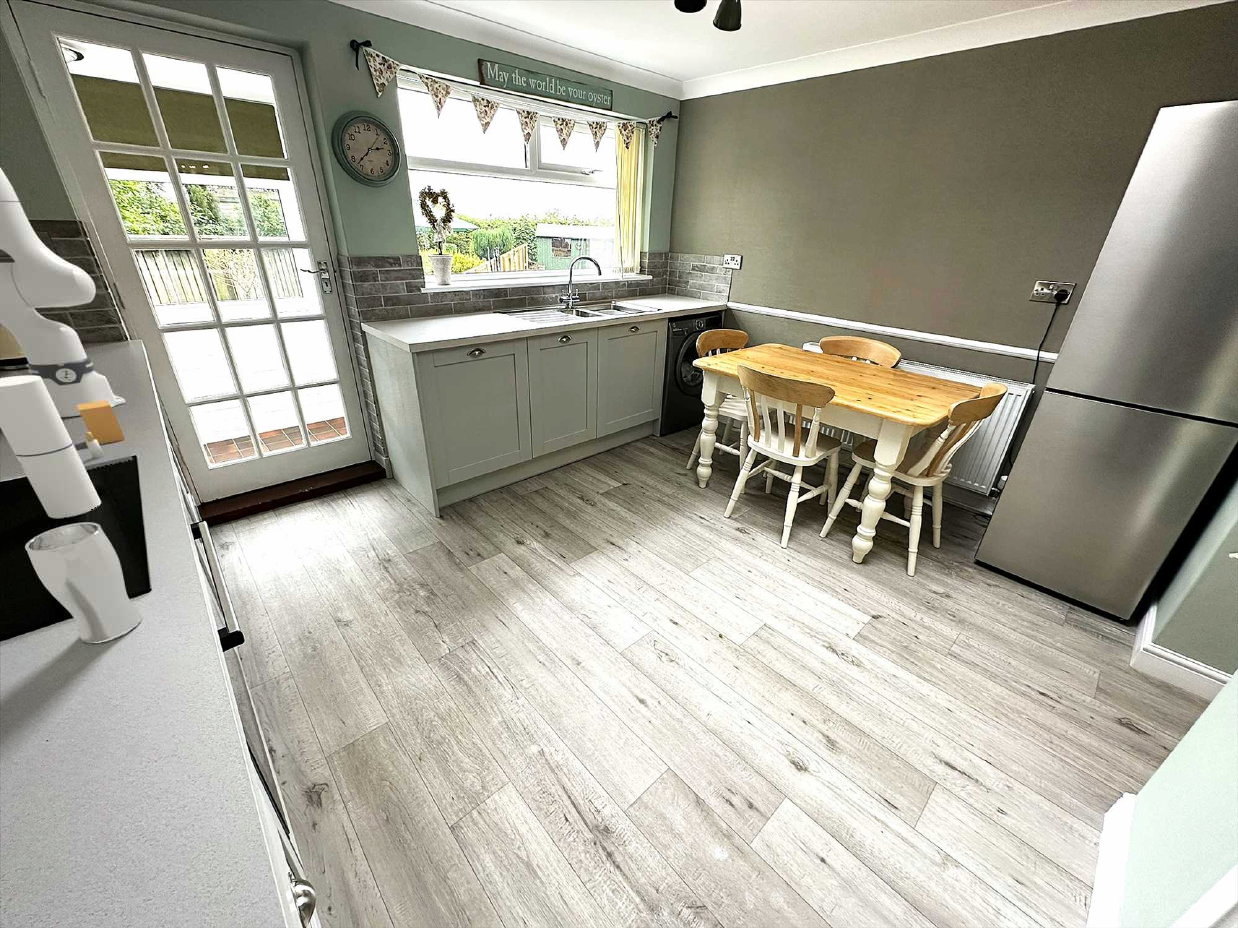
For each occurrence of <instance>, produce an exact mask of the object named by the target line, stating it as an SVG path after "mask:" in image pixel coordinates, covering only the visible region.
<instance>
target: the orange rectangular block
mask: <svg viewBox="0 0 1238 928" xmlns="http://www.w3.org/2000/svg"><path fill="white" fill-rule="evenodd" d="M77 407H78V410H79V412H80V414H81V415H80V417H81V418H82V420H83V422H84V424H85V426H86V429H87V432H91V434H92V436H93V438H94V439H96V440H97V441H98V443H99V445H100V446H101V445H106V444H110V443H116V442H121V441H125V440H124V439H125V436H124V434H123V431H122V430H121V426H120V425H119V422H118V420H117V416H116V415H115V413H114V409H113V407H111V406H110V404H109V402H108V401H107V400H105V401H99V402H92V403H86V404H80V405H77ZM109 442H110V443H109Z"/></svg>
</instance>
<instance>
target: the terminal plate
mask: <svg viewBox="0 0 1238 928" xmlns="http://www.w3.org/2000/svg"><path fill="white" fill-rule="evenodd" d="M100 448H101V450H102V452H103V454H104V457H102V458H98V459H94V458H93V457H92V454H91V452H90V450H89V448H88V447H87V448H84V449H83V448H82V449H79V450H77V449H76V451H77V453H78V455H79V457H80V459H81V461H82V463H83V465H84V467H85V470H86V471H89V470H93V468H94V469H98V468H97V467H99V468H103V467H106V466H105V465H108V466H111V465H110V464H112V465H116V463H117V464H120V463H119V462H121V463H125V461H126V462H129V461H128V460H130V461H133V460H134V459H133V456H132V454H131V453H130V452H129V449H128V448H127V446H126V445H125V442H124V440H121V441H116V442H111V443H106V444H101V445H100ZM102 466H103V467H102Z"/></svg>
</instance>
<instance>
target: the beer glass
mask: <svg viewBox="0 0 1238 928" xmlns="http://www.w3.org/2000/svg"><path fill="white" fill-rule="evenodd" d="M112 544H113V543H111V541H110V540H109V538H108V536H107V535H106V534H105V532H104V530H103V529H102V527H101V525H100V524H99V523H97V522H91V521H90V522H78V523H70V524H65V525H61V526H59V527H55V528H52V529H49V530H47V531H44V532H42V533H40V534H38V535H36V536H34V537H33V538H31V539H30V540H29V541H28V542H27V543H26V544H25V545H24V548H25V550H26V551H27V552H26V553H27V555H28V557H29V559H30V561H31V564H32V566H33V568H34V570H35V572H36V575H37V577H38V578H39V580H40V581H41V582H42V584H43V585H44V587H45V588H46V590H48V592H49V593H50V594H51V595H52V596H53V597H54V598H55V599H56V600H57V601H58V602H59V603H60V604H61V605H62V606H63V607H64V608H65V609H66V610H67V611H68V612H69V614H71V616H72V617H73V619H74V620H75V622H76V625H77V629H78V632H79V637H80V640H81V641H82V643H84V642H87V643H93V642H99V641H103V640H106V639H109V638H111V637H114V636H117V635H119V634H121V633H122V632H124V631H127V630H128V629H130V628H133V627H134V626H135V625H136V624H138V623H139V621H140V620H141V618H142V619H143V615H142V612H140V611H139V610H138V609H137V607H136V606H135V605H134V604H133V603H132V602H131V600H130V598H129V596H128V593H127V590H126V585H125V579H124V575H123V574H124V573H123V570H122V565H121V562H120V559H119V556H118V554H117V552H116V549H115V548H114V547H113V545H112ZM141 621H142V620H141ZM87 643H86V644H87Z"/></svg>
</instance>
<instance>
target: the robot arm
mask: <svg viewBox="0 0 1238 928" xmlns="http://www.w3.org/2000/svg"><path fill="white" fill-rule="evenodd" d="M28 219H29V218H28V217H27V215H26V213H25V210H24V209H23V207H22V204H21V202H20V199H19V198H18V196H17V193H16V192H15V190H14V187H13V185H12V184H11V182H10V181H9V179H8V177H7V175H6V174H5V172H4V170H3V169H2V168H1V167H0V250H1V251H3V252H4V253H6V254H8V255H9V256H10V257H11V258H12V259H13V260H14V262H0V324H1V325H3V326H4V327H5V328H6V329H7V330H8V331H9V332H10V333H11V335H12V336H13V338H15V340H16V342H17V343H18V345H19V347H20V348H21V350H22V352H23V353H24V356H25V358H26V359H27V362H28V363H27V367H28V371H29V372H30V373H31V375H32V376H40V377H41V378H42V380H43V382H44V384H45V386H46V388H47V391H48V393H49V395H50V397H51V399H52V401H53V403H54V405H55V407H56V409H57V411H58V413H59V415H60V418H68V417H76V416H77V417H78V416H81V414H80V412H79V410H78V407H77V405H80V404H86V403H92V402H99V401H105V400H107V401H108V402H109V404H110V406H111V408H113V407H115V406H119V405H122V404H125V403H127V402H126V399H125V398H124V397H121V396H118V395H116V394H114V392H113V390H112V388H111V386H110V384H109V381H108V379H107V378H106V376H105V375H103V374H101V373H100V374H99V373H98V372H97V371H95V367H94V363H93V361H92V360H91V357H89V356H87V353H86V351H85V349H84V346H83V344H82V342H81V339H80V337H79V335H78V333H77V332H76V331H75V330H74V329H73V328H72V327H71V326H68V324H64V323H63V322H59V321H55V320H51V319H48V318H46V317H44V316H43V315H41V314H40V313H38V312H37V310H36V308H37V309H38V308H41V309H42V308H65V307H66V308H69V307H74V306H75V307H76V306H80V305H85V304H90V303H91V302H92V301H94V299H95V296H96V293H97V290H96V288H97V287H96V284H95V282H94V280H93V279H92V277H91V276H90V275H89V274H88V273H87V272H86V271H85V270H84V269H82V268H80V266H78V265H75V264H73V263H71V262H68V261H66V260H65V259H63V258H62V257H60V256H59V255H57V254H56V253H54V252H53V251H52V250H51V249H50V248H49V247H48V246H46V245H45V243H44V242H42V241H41V239H40V238H39V237H38V235H37V234H36V231H35V230H34V229H33V227H32V225H31V222H30V221H29V220H28Z"/></svg>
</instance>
